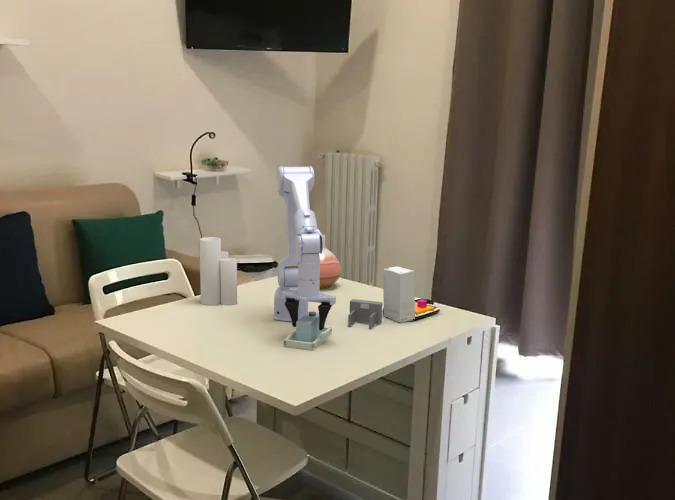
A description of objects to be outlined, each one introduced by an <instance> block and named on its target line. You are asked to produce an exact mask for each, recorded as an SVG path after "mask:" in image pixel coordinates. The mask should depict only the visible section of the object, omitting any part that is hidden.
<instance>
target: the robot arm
mask: <svg viewBox="0 0 675 500" xmlns="http://www.w3.org/2000/svg"><path fill="white" fill-rule="evenodd" d="M315 177H316V176H315V170H314V168H313V166H311V165H309V166H279V167H278V168H277V176H276V180H277V181H276V183H277V192H278V196H279V197H282V198H283V199H284V203H285V215H286V216H285V218H286V220H285V221H286V223H285V224H286V245H287V246H286V248H287V254H286V255H285V256H284V257H283V258H281V259H280V260H279V261H278V266H277V268H278V269H277V282H278V283H277V284H278V287H277V288H276V290H275V292H274V298H273V305H274V307H273V310H274V312H273V318H272V319H273V320H274V321H284V322H291V323H292V327H293V328H296V322H297V321H298V320H299V319H300V318H302V317H303V316H304V315H305V314H307V313H308V312H309V303H320V304H319V305H318V306H317V309H318V310H317V311H318V313H319V330H323V329H324V327H326V326H325V325H326V320H327V318H328V315H329V313H330V311H331V309H332V307H333V306H335V304H336V303H337V296H336V295H331V294H325V293H322V292H320V291H321V289H320V255H319V253H320V254H322V251H323V239H322V235H323V234H322V232H321V231H320V229H318V224H317V218H316V213H315V211H313V210H312V209H311V207H310V194H311V192H312V190H313V187H314V186H315ZM293 265H294V266H293Z"/></svg>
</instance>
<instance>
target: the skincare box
mask: <svg viewBox="0 0 675 500" xmlns="http://www.w3.org/2000/svg"><path fill="white" fill-rule="evenodd" d="M382 270H383V273H382V274H383V275H382V276H383V277H382V278H383V280H382V284H383V288H382V289H383V317H384V318H387V319H390V320H393V321H395V322H398V323H403V322H404V323H405V322H410V321H414V320H415V319H416V318H415V302H416V301H415V299H416V298H415V295H416V294H415V293H416V292H415V289H416V288H415V287H416V285H415V284H416V283H415V281H416V280H415V278H416V277H415V273H416V271H415V270H413V269H408V268H404V267H401V266H398V265H397V266H396V265H395V266H392V267H391V266H390V267H386V268H383V269H382ZM413 319H414V320H413Z"/></svg>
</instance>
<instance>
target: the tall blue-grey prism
mask: <svg viewBox="0 0 675 500" xmlns="http://www.w3.org/2000/svg"><path fill="white" fill-rule="evenodd" d="M295 330H296V341H301V342H309V343H312V342H313V341H314V340H315V339H316V338H317V337H318V336H319V335H320V334H321V333H322V330H319V312H318V313H317V312H316V311H308V313H307V314H305V315H304V316H303V317H302V318H300V319H299V320H298V321H297V322H296V327H295Z"/></svg>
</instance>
